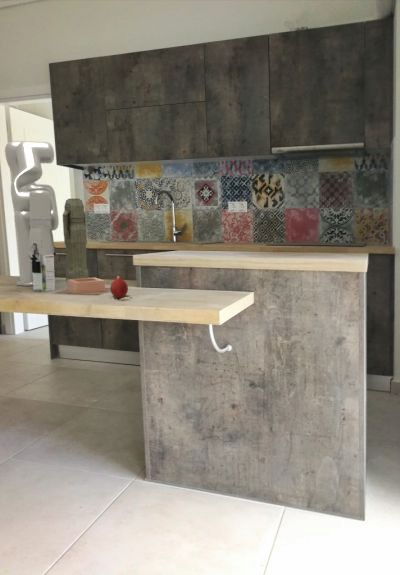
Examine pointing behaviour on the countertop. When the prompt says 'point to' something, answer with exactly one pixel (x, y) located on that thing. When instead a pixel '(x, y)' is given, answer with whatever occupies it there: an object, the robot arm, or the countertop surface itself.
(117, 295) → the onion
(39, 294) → the countertop surface
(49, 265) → the syrup box
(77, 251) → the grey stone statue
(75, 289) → the terracotta square tray
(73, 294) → the board
